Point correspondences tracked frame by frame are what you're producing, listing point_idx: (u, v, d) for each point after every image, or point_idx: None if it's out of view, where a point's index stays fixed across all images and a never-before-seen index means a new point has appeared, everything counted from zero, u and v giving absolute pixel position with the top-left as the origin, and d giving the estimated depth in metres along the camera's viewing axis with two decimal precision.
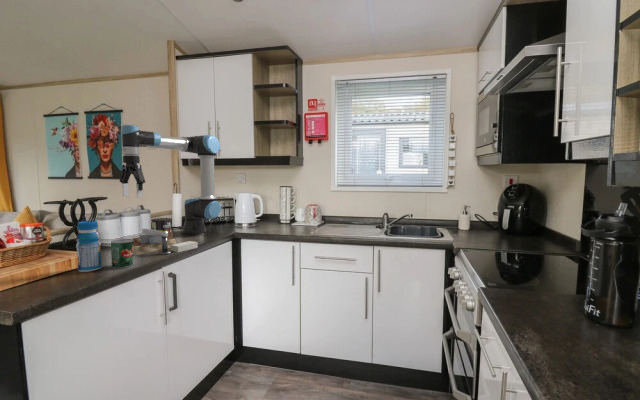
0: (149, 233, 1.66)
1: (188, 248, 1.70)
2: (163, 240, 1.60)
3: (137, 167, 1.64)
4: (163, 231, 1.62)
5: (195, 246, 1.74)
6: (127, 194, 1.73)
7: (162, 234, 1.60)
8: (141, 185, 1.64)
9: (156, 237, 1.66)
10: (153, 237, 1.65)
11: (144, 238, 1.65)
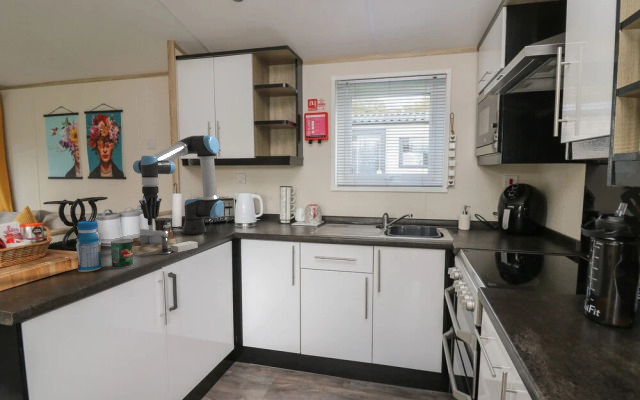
0: (148, 233, 1.65)
1: (188, 248, 1.70)
2: (163, 240, 1.60)
3: (140, 203, 1.61)
4: (163, 231, 1.62)
5: (195, 246, 1.74)
6: (152, 229, 1.67)
7: (162, 234, 1.60)
8: (149, 220, 1.65)
9: (156, 237, 1.66)
10: (153, 237, 1.65)
11: (144, 238, 1.65)
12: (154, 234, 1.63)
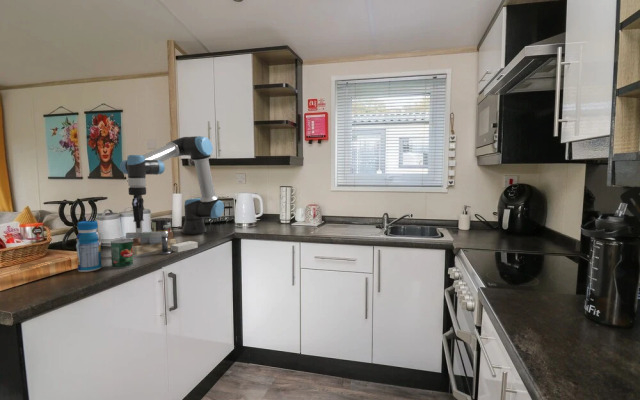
0: (140, 236, 1.58)
1: (188, 248, 1.70)
2: (163, 240, 1.60)
3: (133, 205, 1.53)
4: (162, 231, 1.61)
5: (195, 246, 1.74)
6: None
7: (165, 234, 1.60)
8: (138, 223, 1.58)
9: (156, 237, 1.66)
10: (153, 237, 1.65)
11: (144, 238, 1.65)
12: (150, 236, 1.59)
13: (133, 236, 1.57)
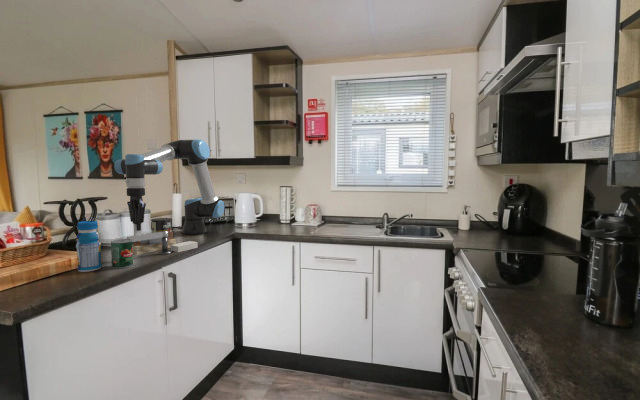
0: (142, 238, 1.52)
1: (188, 248, 1.70)
2: (163, 240, 1.60)
3: (141, 206, 1.48)
4: (161, 232, 1.60)
5: (195, 246, 1.74)
6: None
7: (167, 234, 1.61)
8: (139, 225, 1.51)
9: None
10: None
11: None
12: (153, 237, 1.56)
13: (136, 239, 1.50)
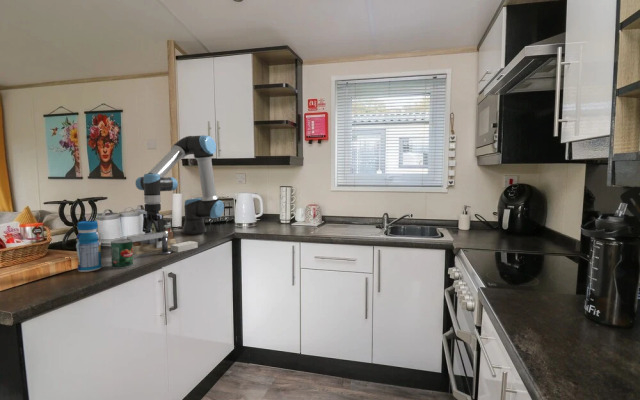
0: (143, 238, 1.52)
1: (188, 248, 1.70)
2: (163, 240, 1.60)
3: (159, 218, 1.64)
4: (161, 232, 1.60)
5: (195, 246, 1.74)
6: None
7: (167, 234, 1.61)
8: None
9: None
10: None
11: None
12: (153, 237, 1.56)
13: (136, 239, 1.50)
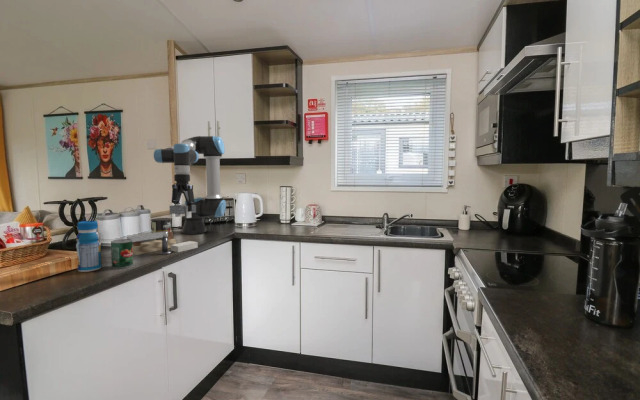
0: (143, 238, 1.52)
1: (188, 248, 1.70)
2: (163, 240, 1.60)
3: (189, 188, 1.65)
4: (161, 232, 1.60)
5: (195, 246, 1.74)
6: (179, 215, 1.72)
7: (167, 234, 1.61)
8: (190, 206, 1.67)
9: None
10: (183, 207, 1.65)
11: (174, 208, 1.65)
12: (153, 237, 1.56)
13: (136, 239, 1.50)
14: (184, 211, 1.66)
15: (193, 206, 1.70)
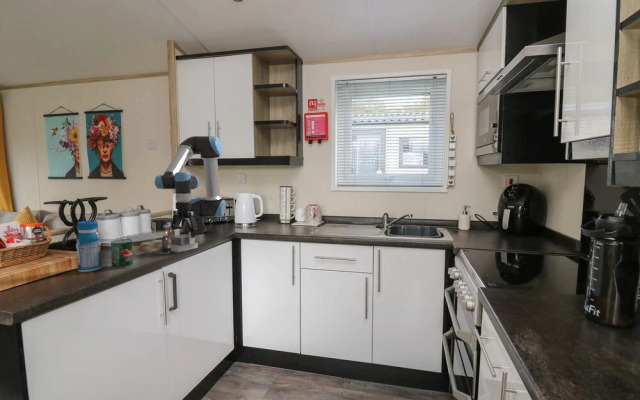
0: (143, 238, 1.52)
1: (188, 248, 1.70)
2: (163, 240, 1.60)
3: (191, 214, 1.66)
4: (161, 232, 1.60)
5: (195, 246, 1.74)
6: None
7: (167, 234, 1.61)
8: (193, 232, 1.67)
9: (187, 239, 1.68)
10: (184, 239, 1.67)
11: (175, 239, 1.67)
12: (153, 237, 1.56)
13: (136, 239, 1.50)
14: (185, 242, 1.67)
15: (194, 237, 1.72)
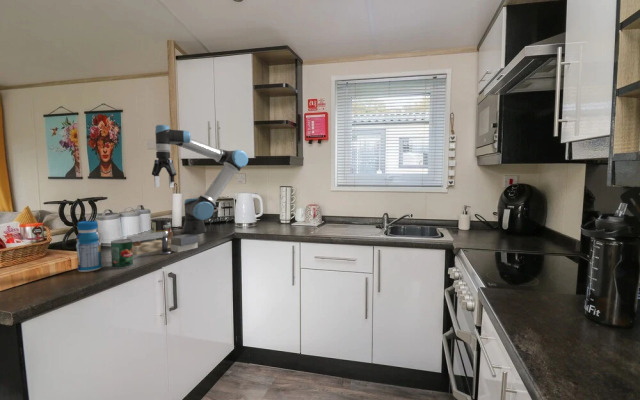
0: (143, 238, 1.52)
1: (188, 248, 1.70)
2: (163, 240, 1.60)
3: (169, 161, 1.89)
4: (161, 232, 1.60)
5: (195, 246, 1.74)
6: (158, 185, 1.98)
7: (167, 234, 1.61)
8: (173, 177, 1.89)
9: (187, 239, 1.68)
10: (184, 239, 1.67)
11: (175, 239, 1.67)
12: (153, 237, 1.56)
13: (136, 239, 1.50)
14: (185, 242, 1.67)
15: (194, 237, 1.72)
